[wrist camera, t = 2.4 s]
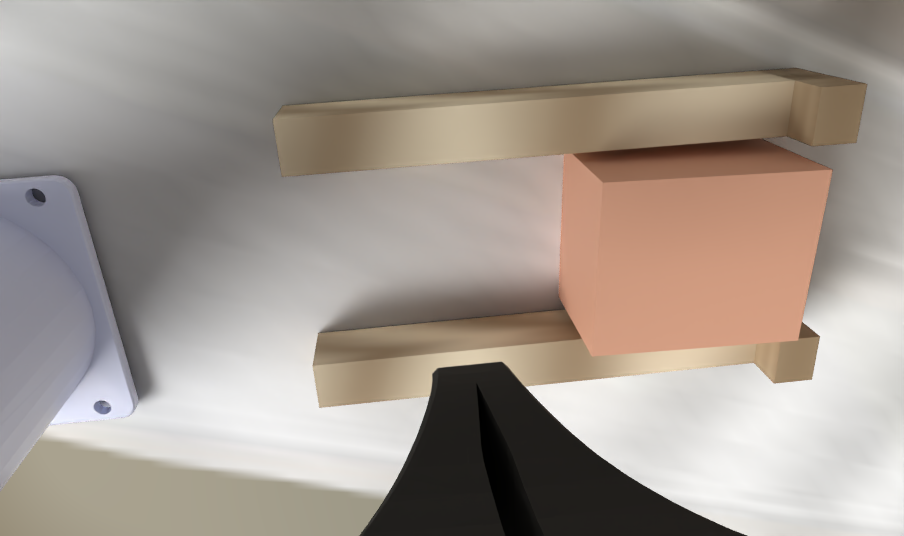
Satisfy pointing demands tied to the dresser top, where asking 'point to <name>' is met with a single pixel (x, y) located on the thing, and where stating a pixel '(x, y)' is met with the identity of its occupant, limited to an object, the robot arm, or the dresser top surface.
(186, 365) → the dresser top surface
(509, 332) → the chute
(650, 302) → the block
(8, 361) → the robot arm
